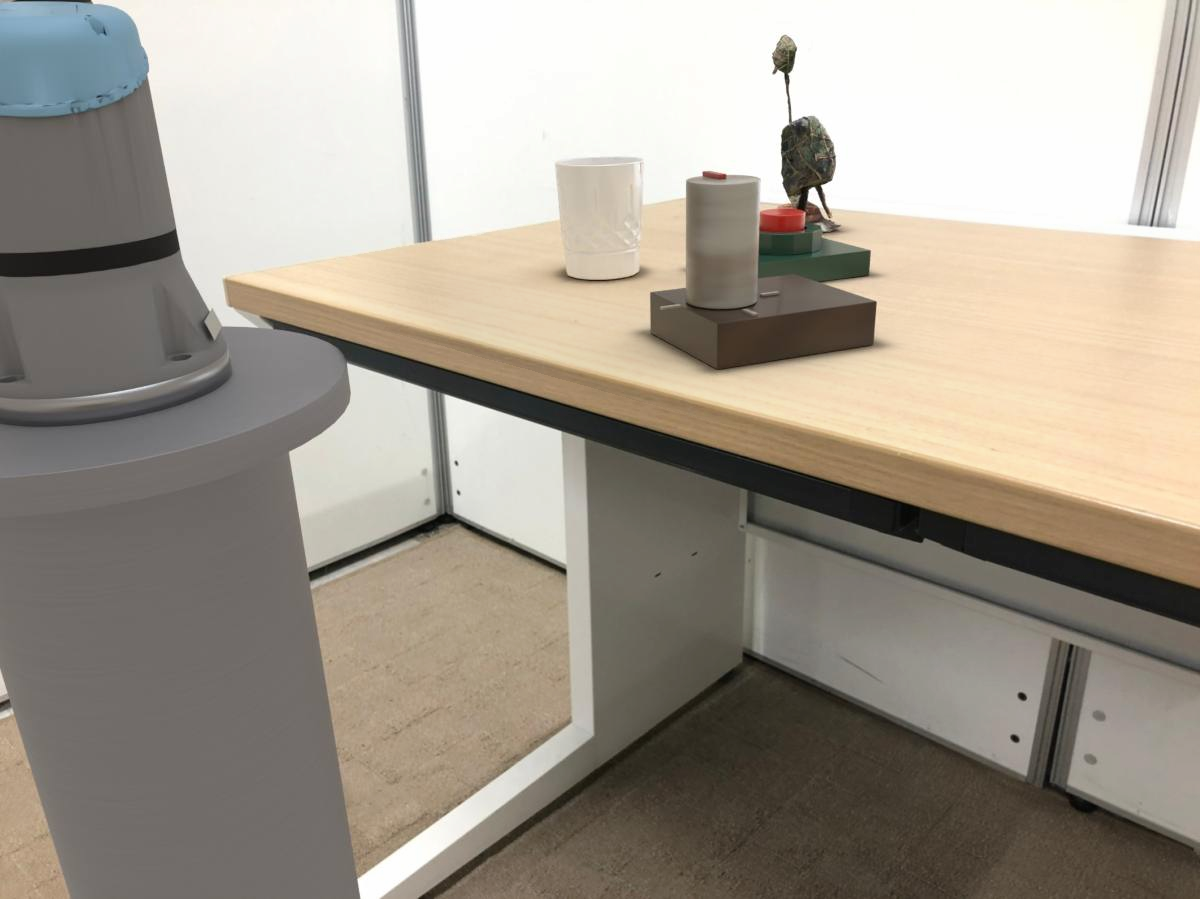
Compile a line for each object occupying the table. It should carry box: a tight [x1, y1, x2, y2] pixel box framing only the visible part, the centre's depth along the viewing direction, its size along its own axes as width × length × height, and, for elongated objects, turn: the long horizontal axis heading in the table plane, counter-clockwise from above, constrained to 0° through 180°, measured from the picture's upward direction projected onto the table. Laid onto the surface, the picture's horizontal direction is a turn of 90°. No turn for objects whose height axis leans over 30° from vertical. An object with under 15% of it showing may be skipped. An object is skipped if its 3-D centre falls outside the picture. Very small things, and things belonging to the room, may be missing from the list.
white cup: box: [554, 155, 645, 281], centre depth 89 cm, size 8×8×10 cm
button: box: [759, 208, 805, 232], centre depth 87 cm, size 4×4×2 cm
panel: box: [649, 274, 878, 370], centre depth 68 cm, size 14×10×3 cm
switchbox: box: [758, 222, 872, 283], centre depth 88 cm, size 12×10×4 cm
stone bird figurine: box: [771, 34, 842, 234], centre depth 105 cm, size 8×11×20 cm
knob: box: [685, 170, 762, 309], centre depth 65 cm, size 5×5×8 cm
